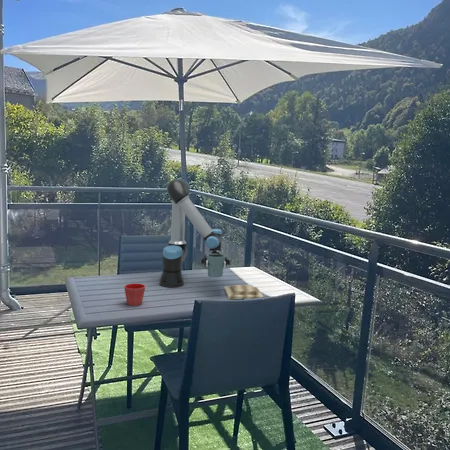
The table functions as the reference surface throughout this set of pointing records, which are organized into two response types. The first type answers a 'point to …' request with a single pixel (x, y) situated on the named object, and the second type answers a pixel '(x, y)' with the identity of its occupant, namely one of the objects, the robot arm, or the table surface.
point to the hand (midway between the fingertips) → (215, 265)
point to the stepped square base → (242, 292)
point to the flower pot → (134, 294)
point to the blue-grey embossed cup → (215, 265)
